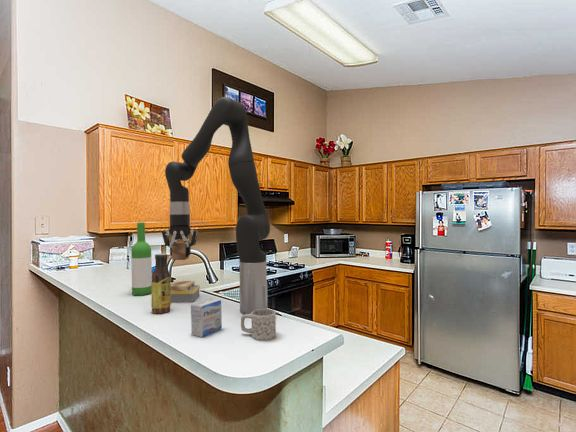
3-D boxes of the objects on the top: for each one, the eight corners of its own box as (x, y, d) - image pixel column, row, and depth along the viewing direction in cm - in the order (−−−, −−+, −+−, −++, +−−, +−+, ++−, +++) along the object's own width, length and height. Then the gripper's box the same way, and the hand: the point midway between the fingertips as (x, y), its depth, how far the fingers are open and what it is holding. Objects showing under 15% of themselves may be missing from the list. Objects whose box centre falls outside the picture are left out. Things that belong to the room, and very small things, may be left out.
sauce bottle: (164, 314, 114) (163, 255, 114) (147, 313, 116) (146, 255, 115) (174, 309, 121) (173, 253, 120) (158, 308, 122) (157, 252, 122)
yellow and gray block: (199, 296, 139) (199, 285, 139) (193, 302, 129) (193, 290, 129) (170, 296, 139) (169, 285, 139) (161, 302, 130) (161, 290, 130)
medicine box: (202, 338, 93) (201, 306, 93) (190, 334, 96) (190, 304, 96) (222, 329, 100) (221, 299, 100) (211, 326, 102) (210, 297, 102)
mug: (278, 332, 97) (278, 309, 97) (272, 341, 90) (271, 316, 90) (245, 330, 99) (244, 307, 99) (236, 338, 93) (236, 314, 92)
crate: (189, 258, 136) (188, 243, 136) (184, 259, 131) (184, 244, 131) (176, 258, 137) (176, 243, 136) (171, 260, 131) (171, 244, 131)
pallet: (194, 284, 139) (194, 280, 139) (187, 290, 129) (186, 286, 129) (175, 285, 139) (175, 280, 139) (166, 290, 129) (165, 286, 129)
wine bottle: (152, 291, 149) (151, 222, 148) (151, 295, 141) (150, 222, 141) (133, 292, 146) (131, 222, 146) (130, 296, 139) (129, 223, 138)
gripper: (200, 213, 137) (201, 255, 138) (165, 213, 138) (165, 255, 138) (195, 213, 130) (195, 258, 130) (157, 213, 130) (158, 258, 130)
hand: (180, 256), depth 134 cm, fingers closed on crate, 5 cm apart
